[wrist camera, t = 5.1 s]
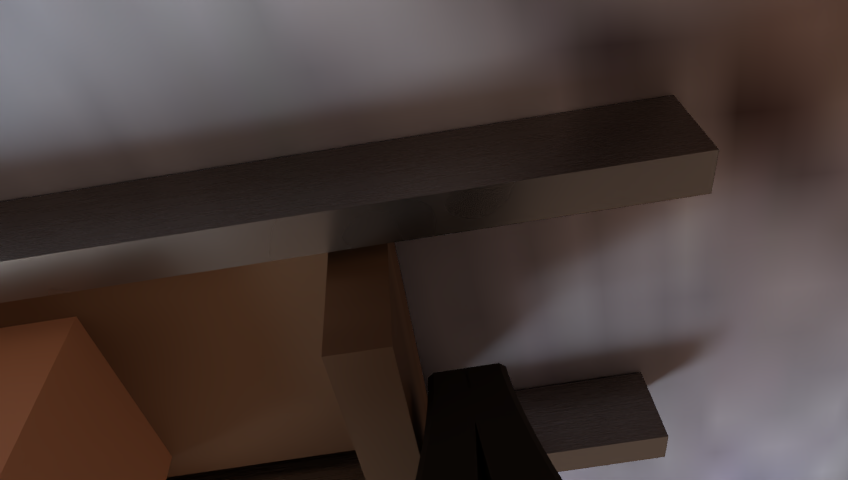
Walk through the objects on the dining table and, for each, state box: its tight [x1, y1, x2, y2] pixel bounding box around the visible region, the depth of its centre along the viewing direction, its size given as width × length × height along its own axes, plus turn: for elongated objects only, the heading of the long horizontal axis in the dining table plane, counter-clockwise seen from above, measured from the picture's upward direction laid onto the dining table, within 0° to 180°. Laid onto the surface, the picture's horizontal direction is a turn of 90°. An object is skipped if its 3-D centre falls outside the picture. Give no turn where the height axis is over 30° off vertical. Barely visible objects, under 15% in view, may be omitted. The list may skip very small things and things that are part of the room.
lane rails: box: [0, 95, 719, 480], centre depth 13 cm, size 14×8×2 cm, turn 98°
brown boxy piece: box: [0, 242, 428, 480], centre depth 12 cm, size 16×6×4 cm, turn 98°
